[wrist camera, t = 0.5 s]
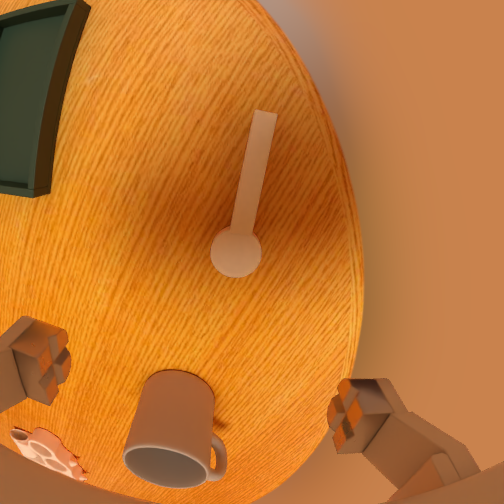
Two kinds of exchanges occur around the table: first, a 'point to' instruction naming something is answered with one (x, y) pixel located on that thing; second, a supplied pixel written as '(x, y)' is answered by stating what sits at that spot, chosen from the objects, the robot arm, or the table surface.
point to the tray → (34, 90)
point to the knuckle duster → (47, 452)
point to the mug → (174, 433)
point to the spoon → (246, 204)
